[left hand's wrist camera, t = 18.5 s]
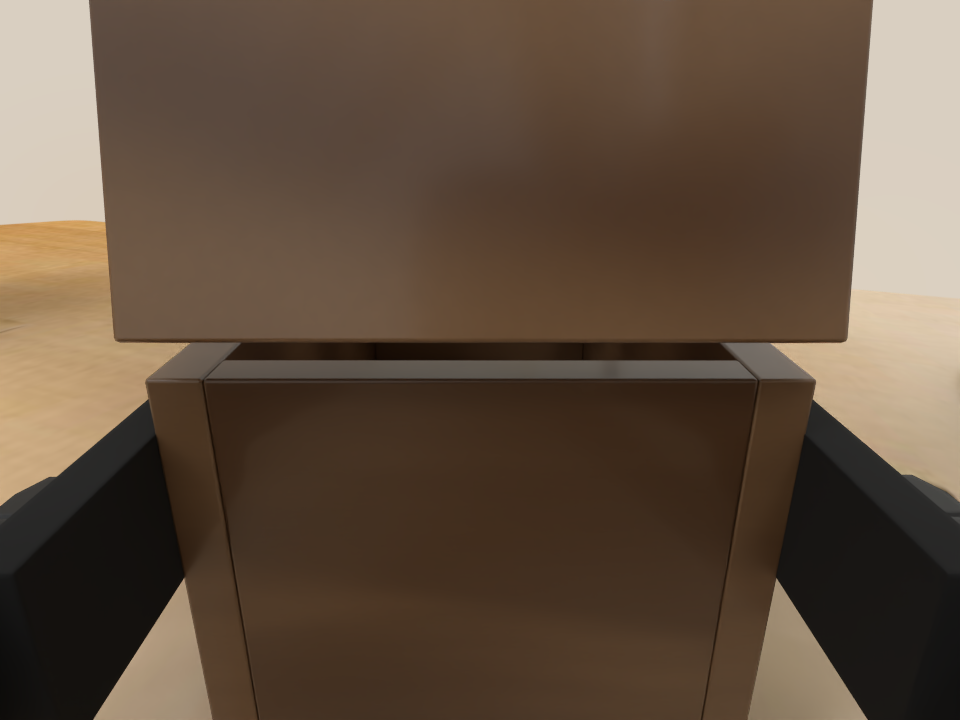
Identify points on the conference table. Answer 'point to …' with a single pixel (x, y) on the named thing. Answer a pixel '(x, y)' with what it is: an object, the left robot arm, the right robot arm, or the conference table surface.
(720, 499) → the chest
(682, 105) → the lid
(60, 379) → the conference table surface
